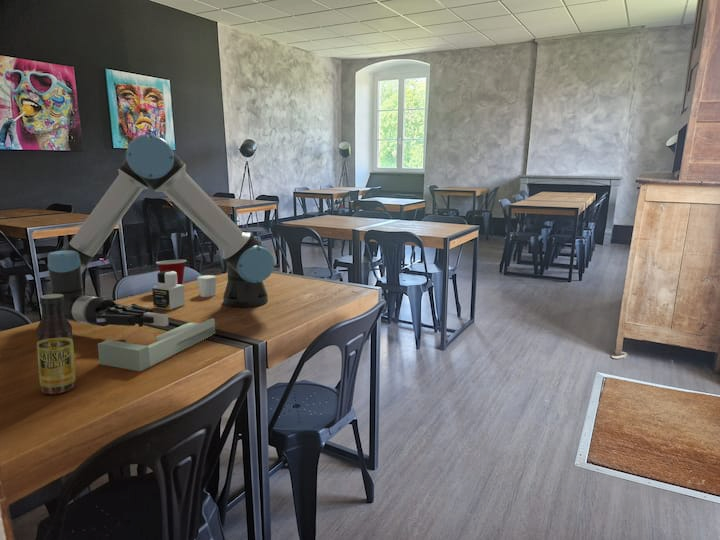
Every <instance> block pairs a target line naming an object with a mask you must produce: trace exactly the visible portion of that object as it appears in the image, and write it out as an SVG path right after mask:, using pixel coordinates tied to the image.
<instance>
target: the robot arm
mask: <svg viewBox="0 0 720 540" xmlns="http://www.w3.org/2000/svg"><path fill="white" fill-rule="evenodd" d="M172 148H173V147H172V146H171V145H170V144H169V143H168V142H167V141H166V140H165V138H162V137H161V136H159V135H155V134H149V133H146V134H142V135H141V134H140V135H138V136H136V137H135V138H133V139H132V140H131V142H129V143H128V145H127V148H126V151H125V158H124V161H123V162H122V164H121V165H120V166H119V168H118V169H117V171H118V175H117V176H116V178H115V180H114V181H113V182H112V184H111V185H110V186H109V187H108V189H107V190H106V192H105V193H104V195H103V196H102V197H101V199H100V200H99V201H98V203H97V204H96V206H95V207H94V209H93V210H92V211H91V213H90V214H89V215H88V216H87V218H86V219H85V221H84V222H83V224H81V226H80V227H79V229H77V232H75V234H74V236H73V237H72V238H71V239H70V241H69V242H68V244H67V245H66V246H65V248H64V249H63V250H56V251H52V252H49V253H48V254H47V268H48V269H47V270H48V275H49V282H50V292H51V293H50V294H62V295H64V303H63V305H64V313H65V318H66V319H67V320H68V322H73V323H78V324H86V325H87V326H91V325H93V326H99V327H106V326H110V325H112V326H128V327H129V326H132V327H134V326H136V325H138V327H139V328H140V327H142V328H143V327H144V324H145V325H151V326H152V325H153V326H159V327H166V326H169V315H168V314H166V313H165V314H164V313H158V312H154V309H153V308H148V307H145V306H141V305H138V304H136V303H131V304H130V305H129V306H125V305H122V304H117V303H115V301H114V300H112V299H111V298H108V297H107V298H106V297H98V296H93V295H91V296H90V295H84V287H83V273H84V272H85V269H86V268H87V267H88V265H89V264H90V263H91V261H93V258H94V257H95V255H96V254H97V253H98V251H99V250H100V249H101V247H102V246H103V244H104V243H105V242H106V240H107V239H108V237H110V235H111V234H112V232H113V231H114V229H116V226H118V224H119V222H120V221H121V220H122V218H123V217H124V216H125V214H126V213H127V212H128V211H129V209H130V207H131V206H132V205H133V203H134V202H135V201H136V199H137V198H138V196H139V195H140V194H141V192H142V191H143V190H147V189H149V188H151V189H152V190H153V191H154V192H158V193H159V192H161V193H164V194H165V196H167V197H168V198H169V199H170V201H172V203H174V204H175V205H176V207H178V208H179V210H180V211H182V212H183V213H184V215H186V216H187V217H188V219H190V220H191V221H192V222H193V223H194V224H195V226H197V227H198V228H199V229H200V230H201V231H202V232H203V233H204V234H205V235H206V236H207V237H208V239H210V240H211V241H212V242H213V243H214V244H215V245H216V246H217V247H218V248H219V249H220V250H221V255H222V256H221V257H222V259H223V260H224V261H225V263H226V268H227V270H226V271H227V283H226V286H225V289H224V293H223V297H222V299H223V304H224V305H226V306H228V307H234V308H249V307H257V306H261V305H264V304H267V302H268V299H269V296H268V291H267V289H266V287H265V284H264V281H266V280H267V279H268V278H269V277H270V276H272V273H273V271H274V269H275V258H274V256H273V253H272V252H271V250H269V249H268V248H266V247H265V246H264V245H263V244H262V239H261V237H260V236H258V235H257V236H254V235H253V234H252V232H250V231H247V232H246V231H245V232H244V231H242V230H241V228H240V227H239V226H238V225H237V224H236V223H235V222H234V221H233V220H232V219H231V217H229V216H228V215H227V214H226V213H225V212H224V210H223V209H221V207H220V206H219V205H217V204H218V203H216V202H215V201H214V200H213V199H212V198H211V197H210V196H209V195H208V194H207V193H206V191H204V189H202V188H201V186H200V185H199V184H198V183H197V182H196V181H195V180H194V179H193V178H192V177H191V176H190V175H189V174H188V173H187V170H186V169H187V165H186V163H185V162H184V161H183V160H182V159H181V158H180V156H178V155H177V154H176V153H175V152H174V151H173V149H172Z"/></svg>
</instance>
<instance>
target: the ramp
mask: <svg viewBox="0 0 720 540" xmlns="http://www.w3.org/2000/svg"><path fill="white" fill-rule="evenodd" d="M213 334H215V335H216V322H215V318H213V317H212V318H209V319H207V320H204V321H202V322H200V323H198V322H187V323H183V324H182V325H180V326H178V327H175V328H173V329H170V330H168V331H166V332H163V333H161V334H158V335H155V336H156V338H157V342H154V343H152V344H150V345H148V346H145V345H138V344H132V343H126V341H119V340H112V339H107V340H103V341H101V342H99V343H97V352H98V353H97V354H98V362H99V365H101V366H102V365H103V366H108V367H113V368H114V367H115V368H119V369H124V370H129V371H135V372H143V371H144V370H147V369H148V368H150V367H153V366H154V365H156V364H159V363H160V362H162V361H164V360H166V359H168V358H170V357H172V355H173V356H175V355H177V354H178V352H179V353H180V351H181V352H182V350H183V351H184V349H185V350H186V348H187V349H188V347H189V348H190V346H191V347H192V345H193V346H195V345H197V344H198V342H199V343H201V342H202V340H203V341H205V340H206V338H207V339H208V337H209V338H210V336H211V337H212V335H213ZM213 336H214V335H213ZM204 339H205V340H204ZM200 341H201V342H200ZM196 343H197V344H196ZM194 344H195V345H194ZM176 353H177V354H176ZM174 354H175V355H174Z"/></svg>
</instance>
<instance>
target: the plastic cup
mask: <svg viewBox="0 0 720 540" xmlns="http://www.w3.org/2000/svg"><path fill="white" fill-rule="evenodd" d="M186 262H187V259H168V260H160V261H156V262H155V264H156V265H157V267H158V270H159V272H161V271H175V272H176V273H177V282H178V283H177V284H181V285H184V284H183V282H184V275H185V268H186V267H185V266H186Z"/></svg>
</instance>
